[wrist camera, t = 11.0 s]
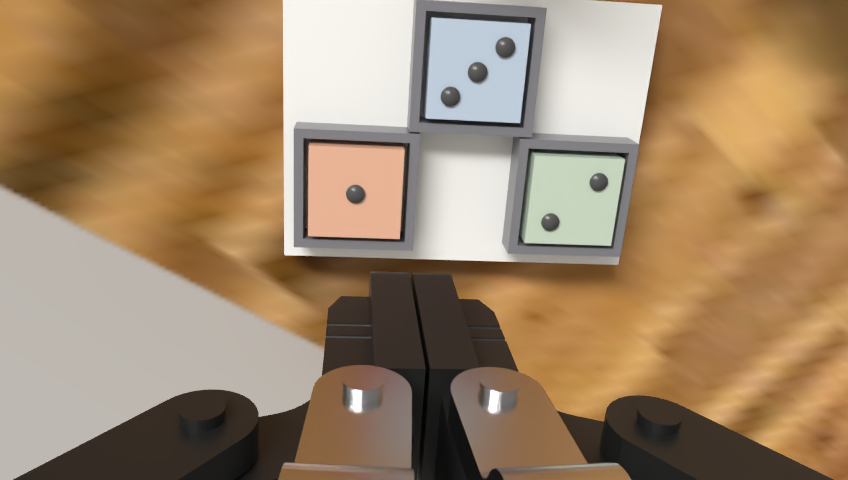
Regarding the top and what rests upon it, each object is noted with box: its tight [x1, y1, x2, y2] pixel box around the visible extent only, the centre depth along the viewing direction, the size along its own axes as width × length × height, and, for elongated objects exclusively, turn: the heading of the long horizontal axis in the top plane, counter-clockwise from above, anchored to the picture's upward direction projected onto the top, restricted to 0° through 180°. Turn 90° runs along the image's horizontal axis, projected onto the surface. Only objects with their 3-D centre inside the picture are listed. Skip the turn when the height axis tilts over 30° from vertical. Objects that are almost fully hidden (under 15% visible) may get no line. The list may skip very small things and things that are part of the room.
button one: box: [308, 139, 405, 239], centre depth 38 cm, size 5×5×2 cm
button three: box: [423, 16, 531, 123], centre depth 36 cm, size 5×5×2 cm
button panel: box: [283, 0, 662, 265], centre depth 39 cm, size 20×15×4 cm
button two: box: [519, 148, 625, 246], centre depth 39 cm, size 5×5×2 cm
